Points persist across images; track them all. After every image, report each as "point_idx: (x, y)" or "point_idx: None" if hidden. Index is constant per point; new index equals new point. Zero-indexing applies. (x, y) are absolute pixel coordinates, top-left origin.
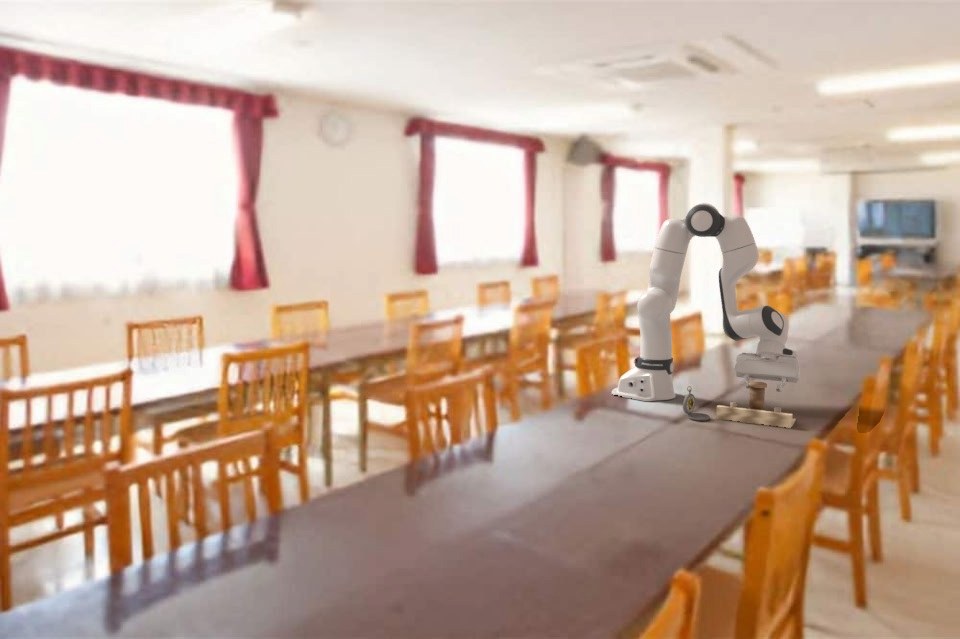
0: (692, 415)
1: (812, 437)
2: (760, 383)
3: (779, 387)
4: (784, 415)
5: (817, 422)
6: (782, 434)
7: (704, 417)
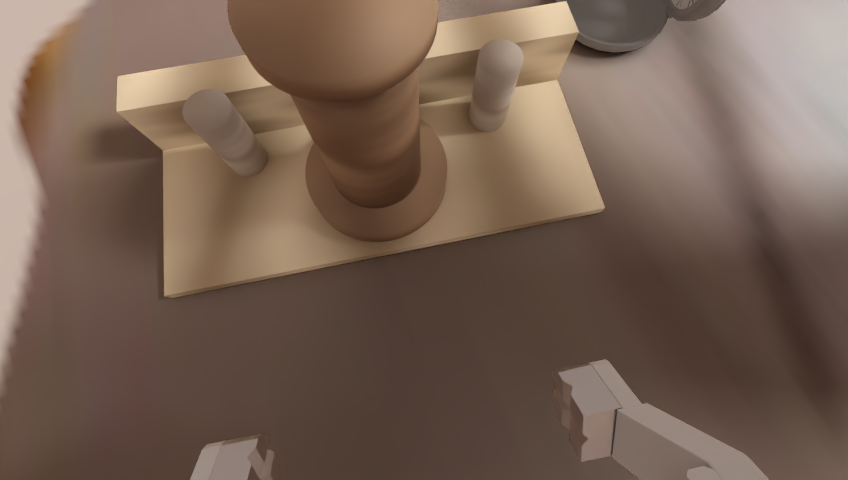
0: (655, 21)
1: (58, 52)
2: (307, 18)
3: (217, 457)
4: (164, 72)
5: (41, 341)
6: (189, 18)
7: (594, 34)
